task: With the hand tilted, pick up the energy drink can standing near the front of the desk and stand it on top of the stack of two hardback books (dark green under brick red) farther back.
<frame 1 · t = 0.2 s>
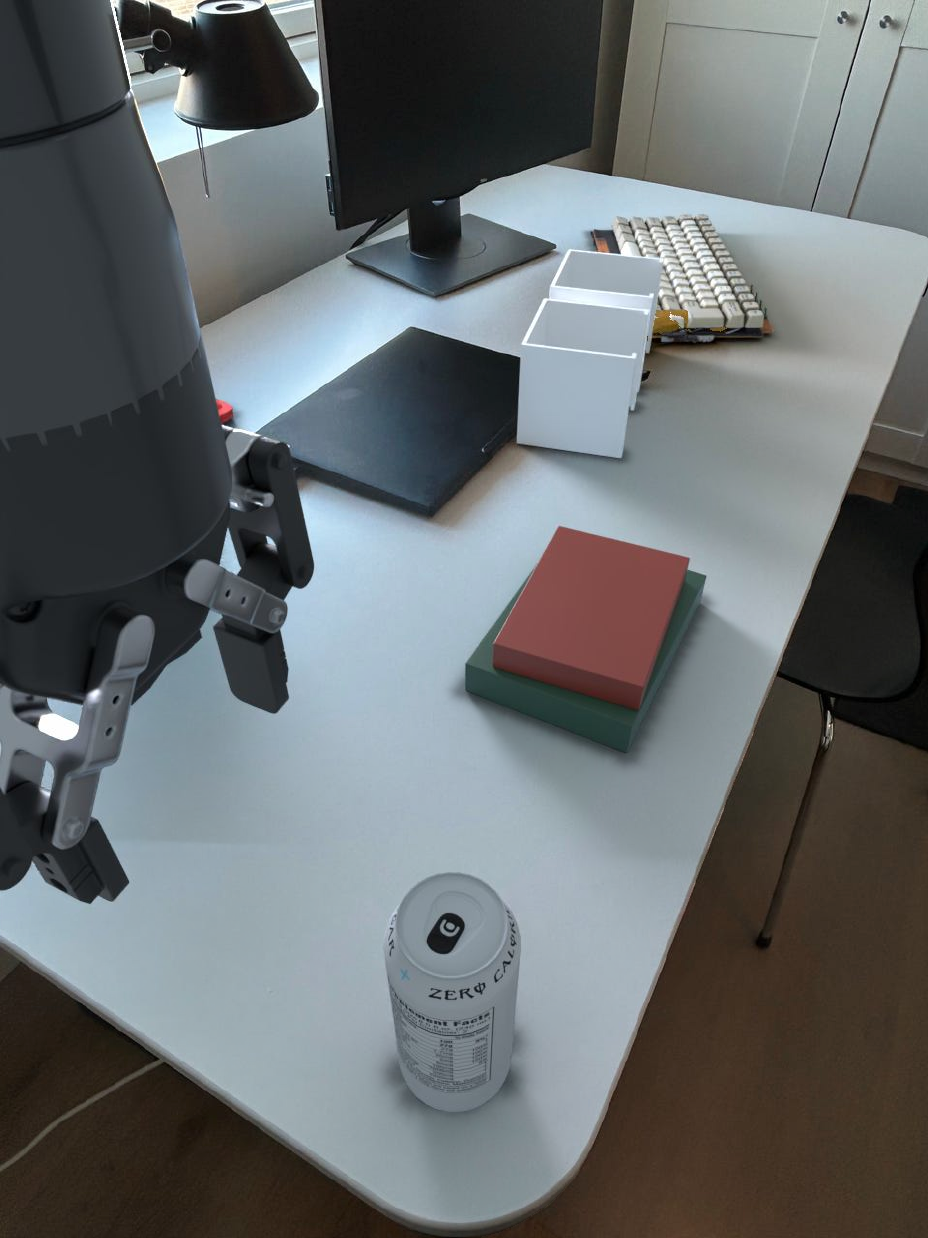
hand: (188, 783, 30), 25 cm above the table, tool pointing down, fingers open, 8 cm apart
mechanical keyboard: (672, 283, 122), on the table
energy drink can: (455, 1059, 48), on the table
book stack: (588, 644, 70), on the table
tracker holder: (181, 424, 95), on the table
storage container: (588, 394, 100), on the table
cup: (175, 536, 81), on the table
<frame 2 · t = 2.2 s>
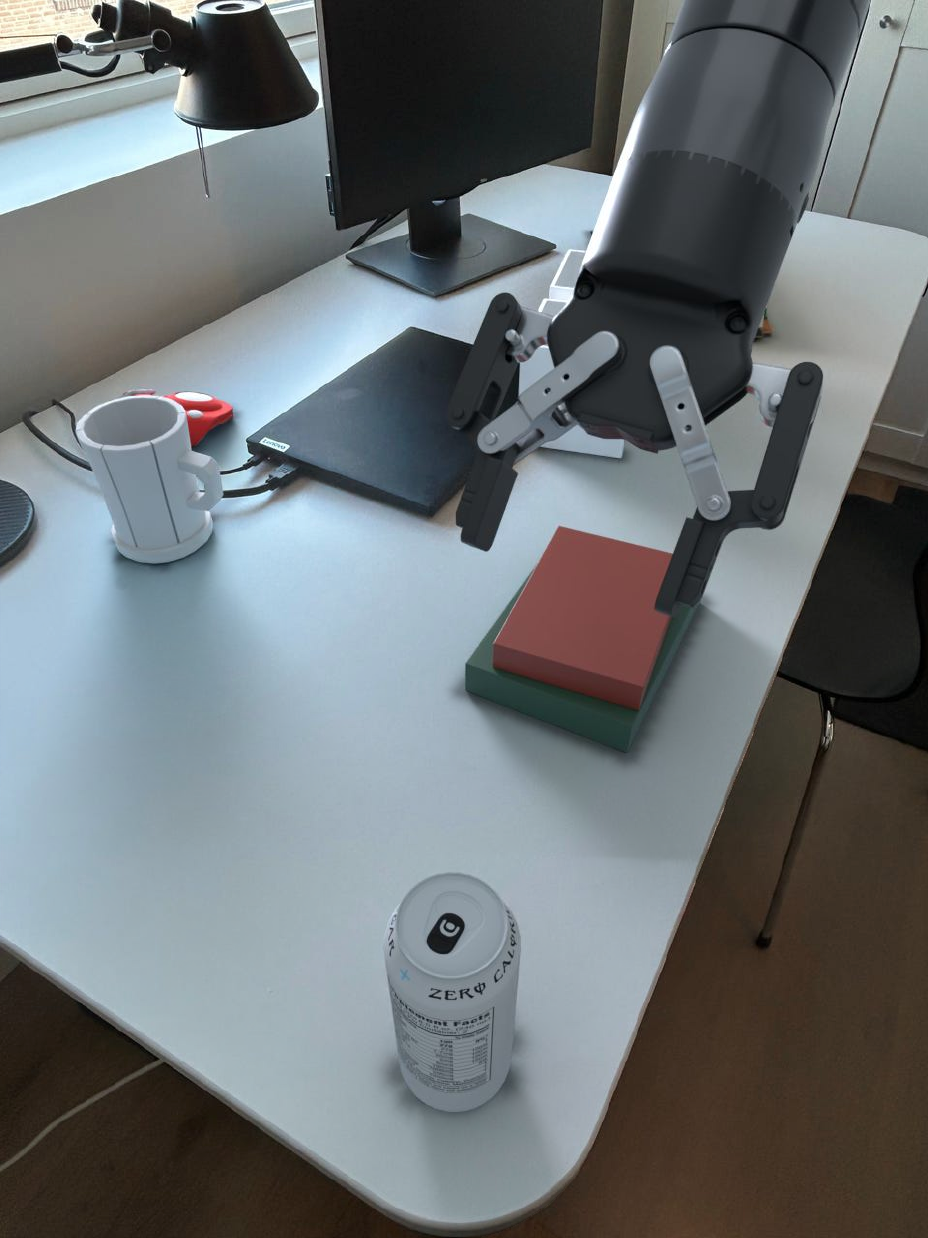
hand: (566, 579, 36), 26 cm above the table, tool tilted 45°, fingers open, 8 cm apart
nothing on the table moved.
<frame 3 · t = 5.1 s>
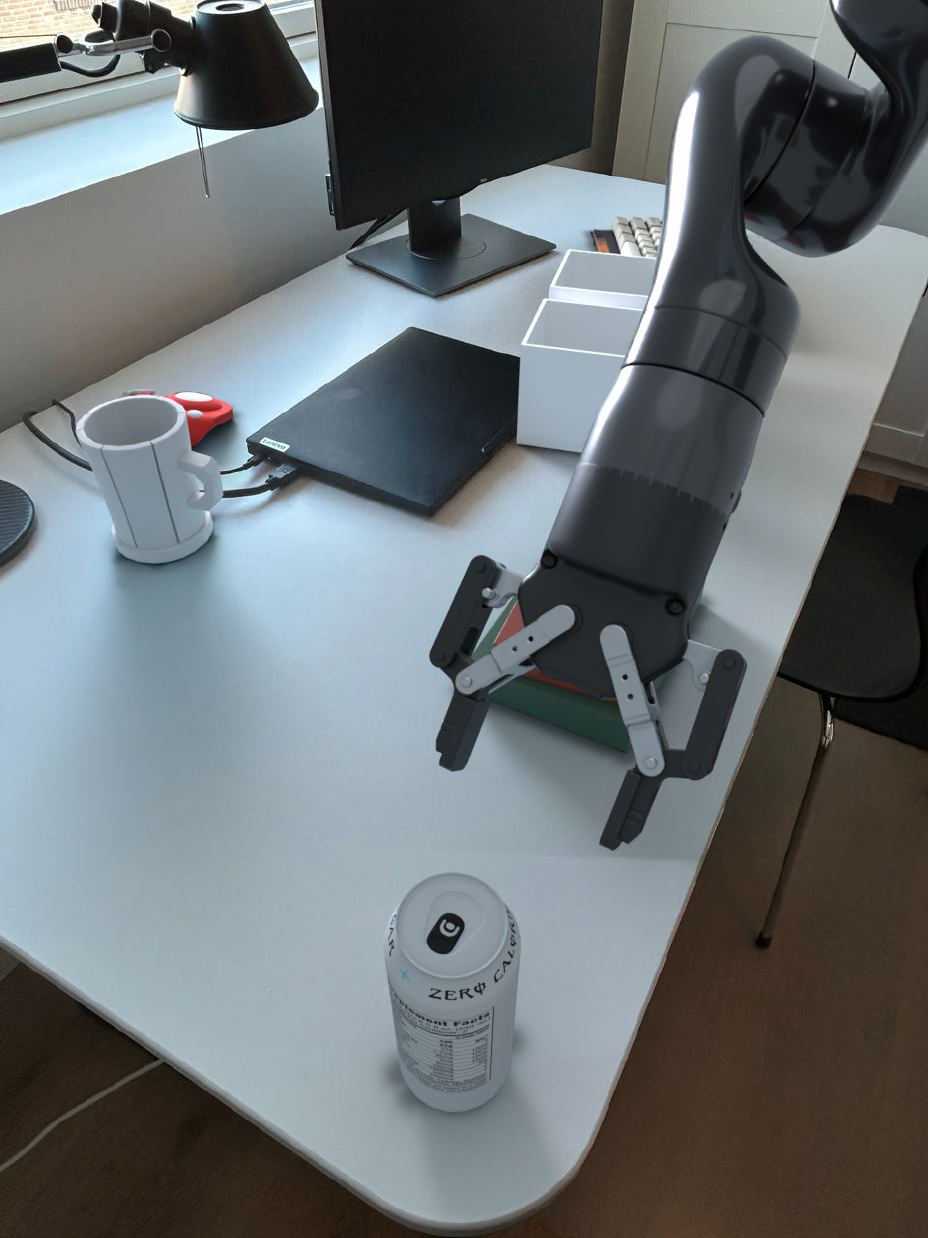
hand: (527, 805, 42), 15 cm above the table, tool tilted 45°, fingers open, 8 cm apart
nothing on the table moved.
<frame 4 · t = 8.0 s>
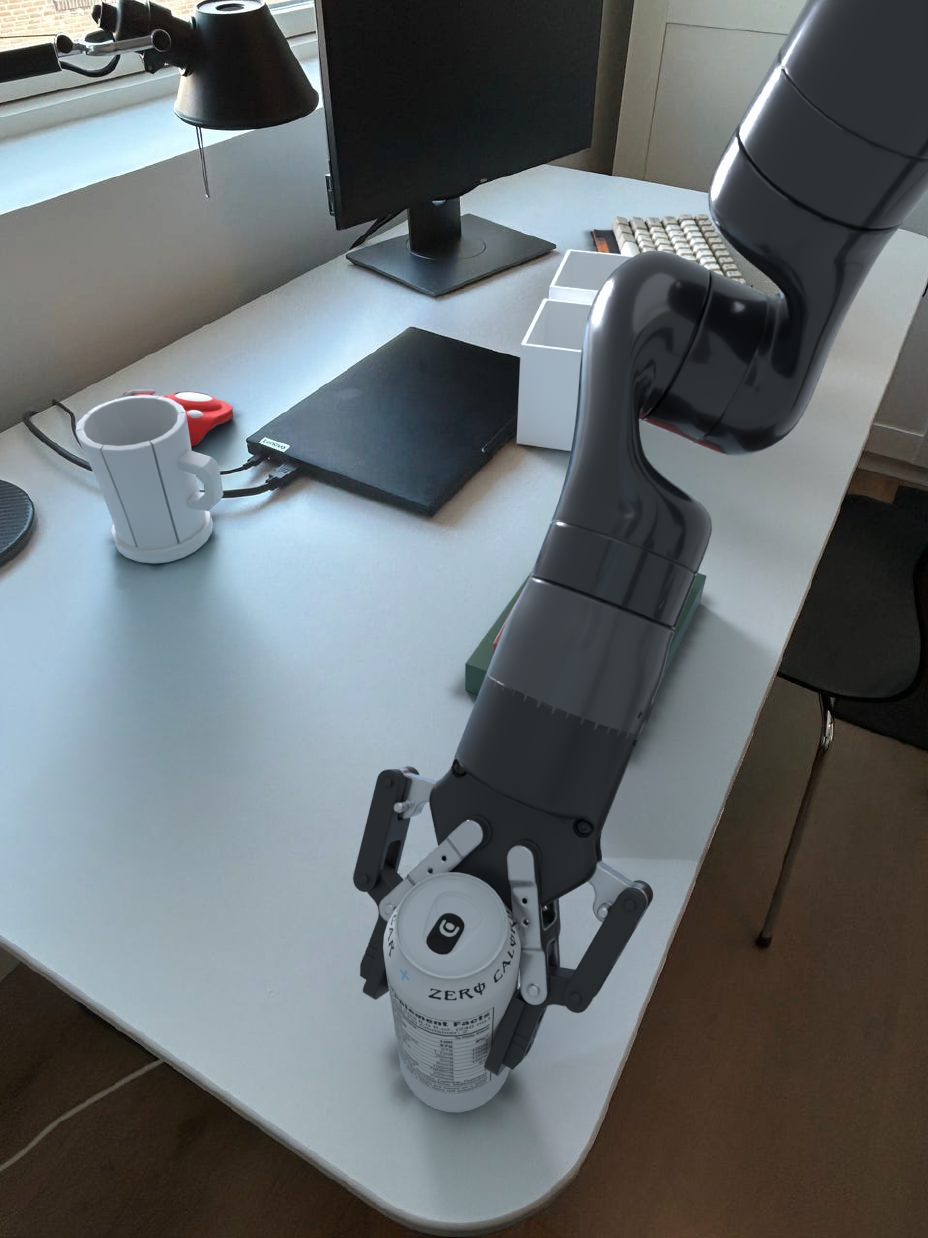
hand: (435, 1027, 41), 8 cm above the table, tool tilted 45°, fingers closed on energy drink can, 6 cm apart
energy drink can: (455, 1059, 48), on the table, touching gripper
everything else where it was.
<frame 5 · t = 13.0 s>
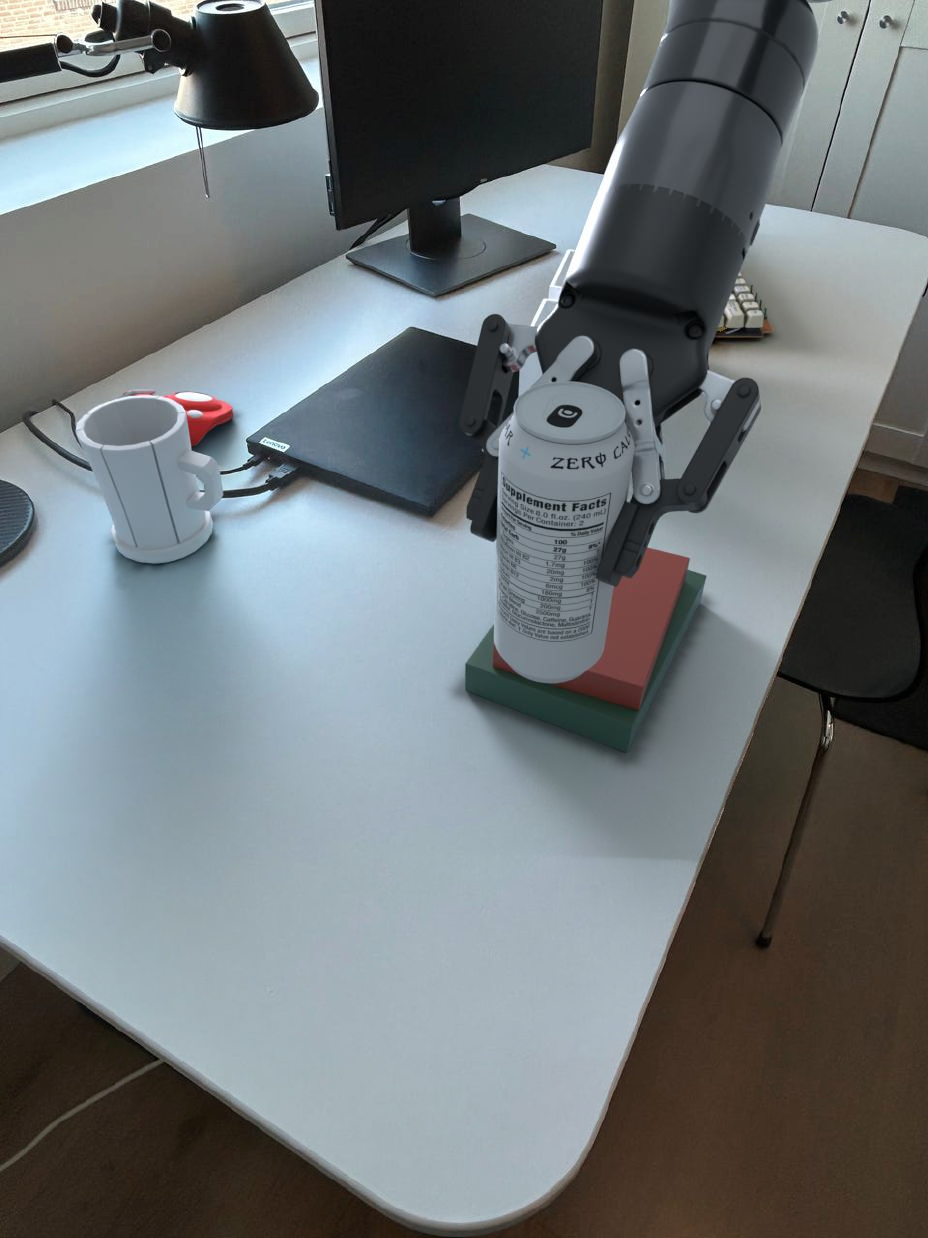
hand: (543, 558, 42), 23 cm above the table, tool tilted 45°, fingers closed on energy drink can, 6 cm apart
energy drink can: (547, 652, 48), point 15 cm above the table, touching gripper
everything else where it was.
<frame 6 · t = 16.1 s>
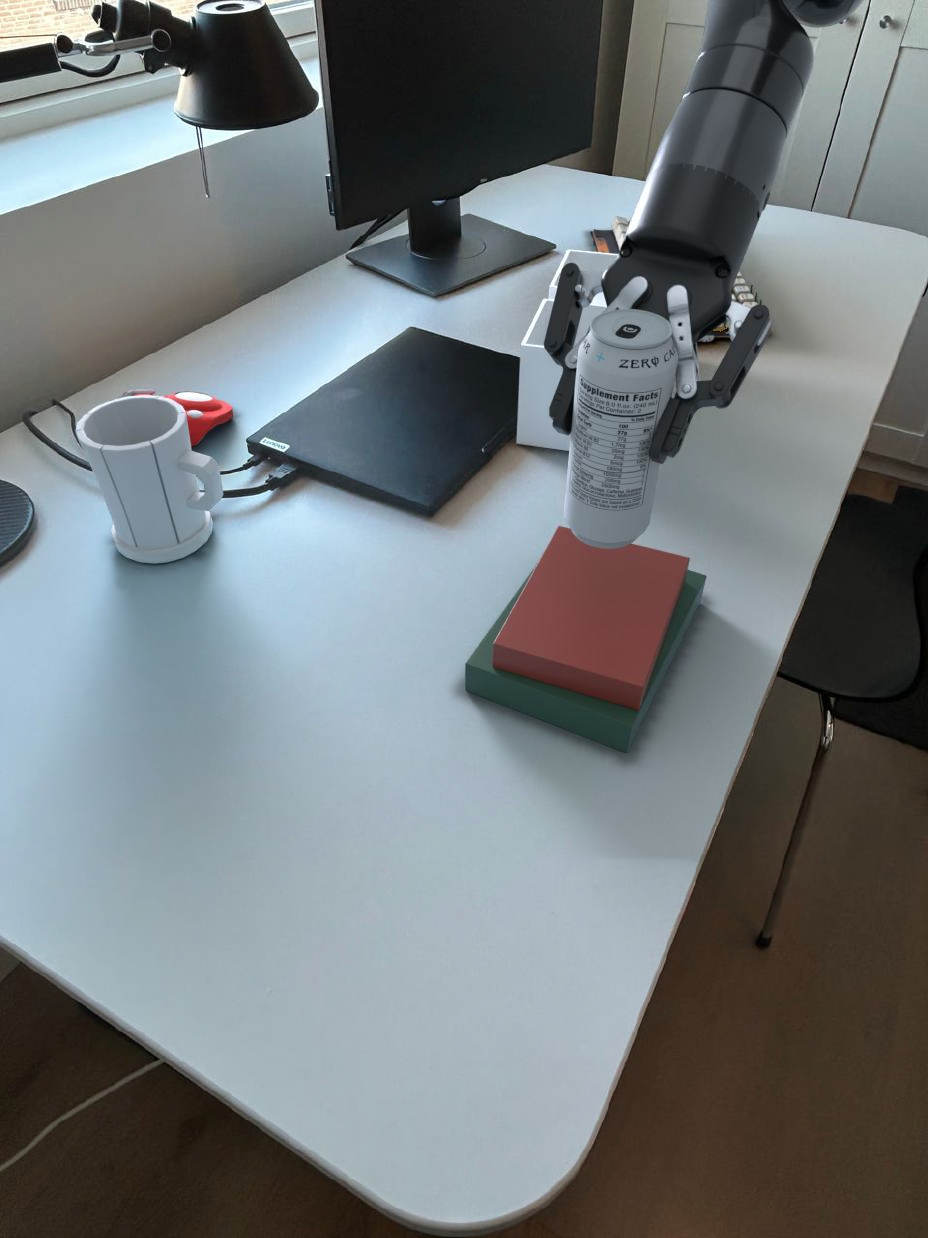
hand: (607, 444, 56), 19 cm above the table, tool tilted 45°, fingers closed on energy drink can, 6 cm apart
energy drink can: (604, 529, 63), point 11 cm above the table, touching gripper
everything else where it was.
when the fingers open (13 cm above the table, at t = 18.4 s): energy drink can stays where it is, resting on book stack.
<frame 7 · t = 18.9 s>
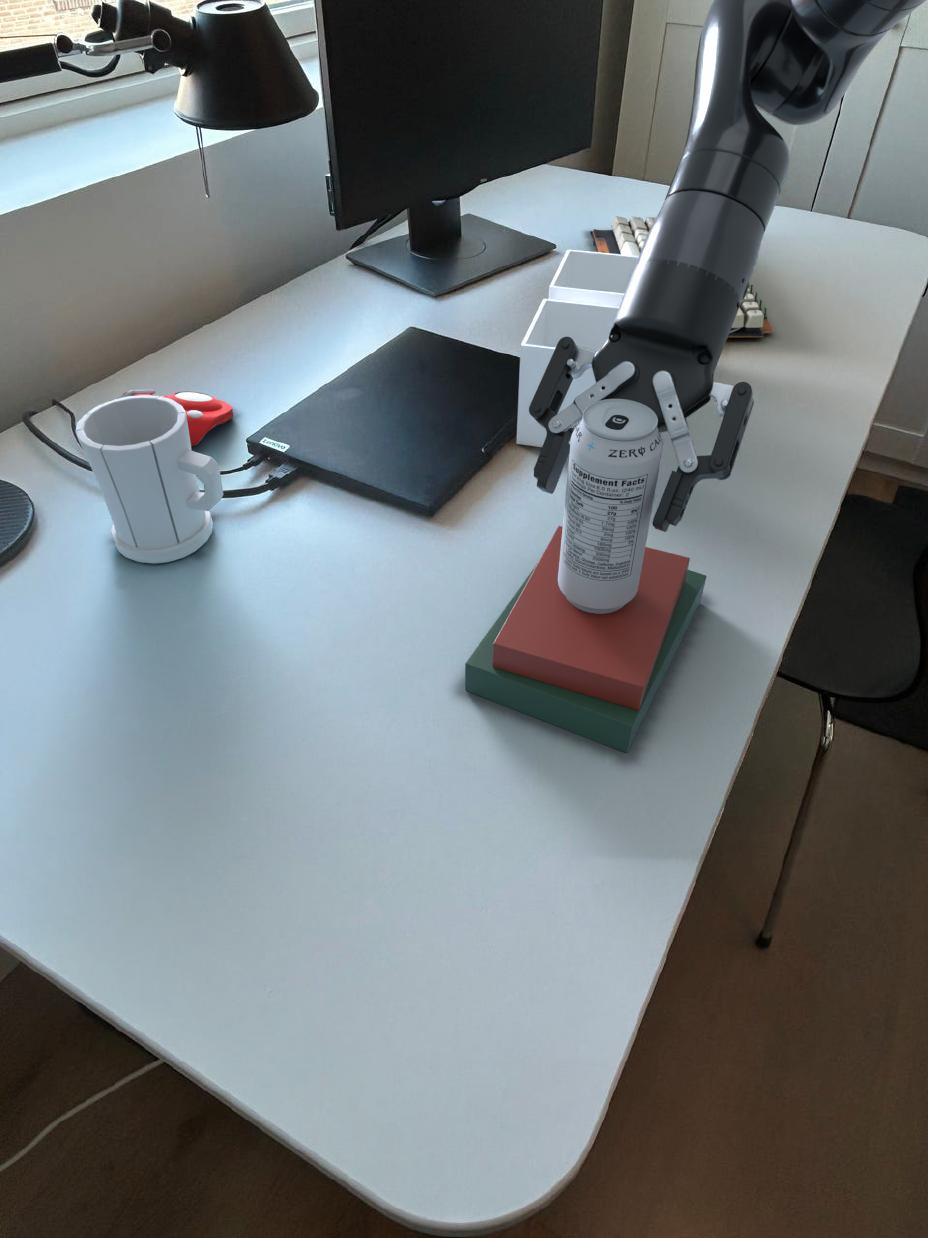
hand: (600, 509, 60), 14 cm above the table, tool tilted 45°, fingers open, 8 cm apart
energy drink can: (596, 593, 67), point 5 cm above the table, touching book stack
everything else where it was.
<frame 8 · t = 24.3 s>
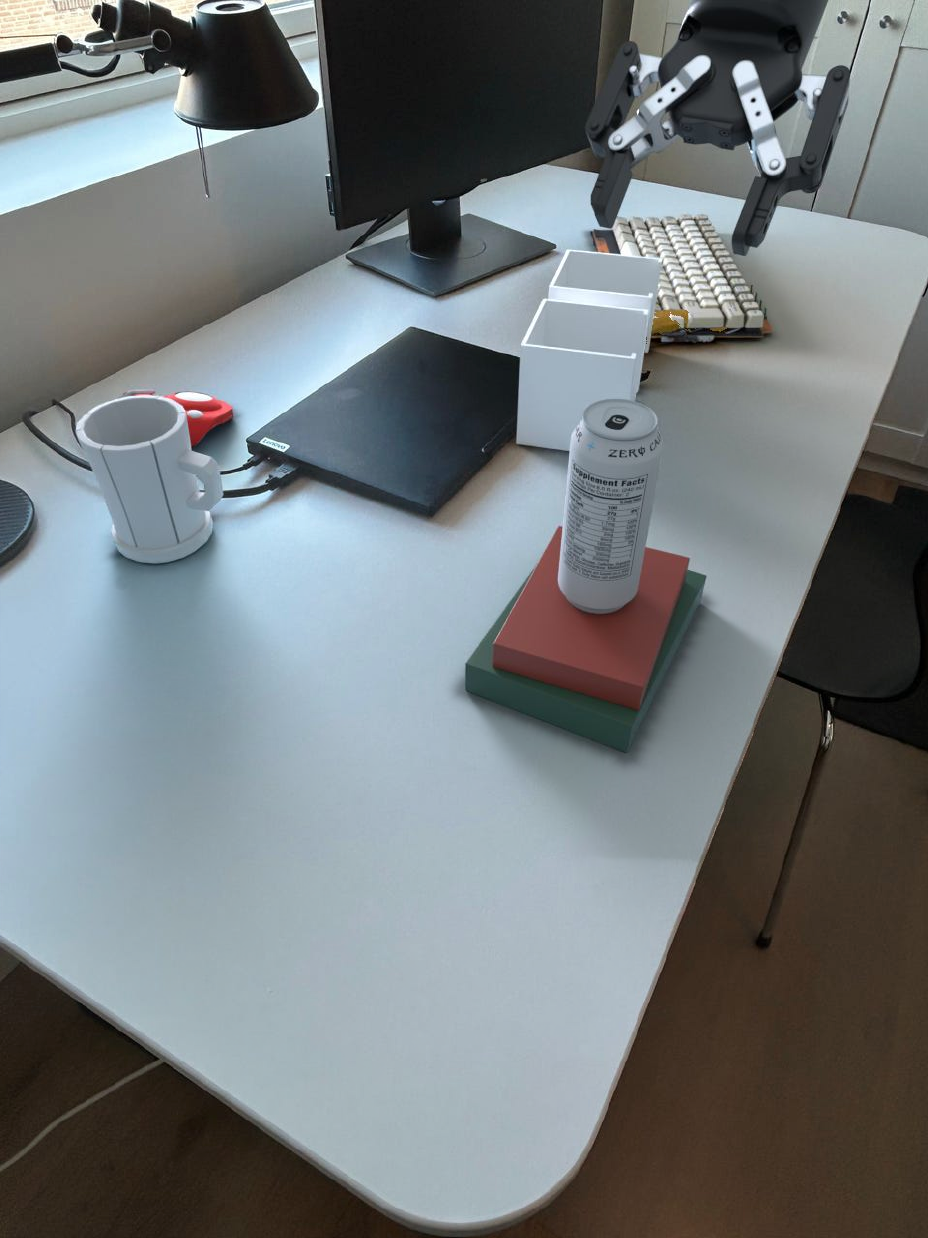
hand: (668, 234, 52), 31 cm above the table, tool tilted 45°, fingers open, 8 cm apart
nothing on the table moved.
at the end: energy drink can inside the target area on the book stack (0.1 cm from its centre), point 5.3 cm above the book stack's base; energy drink can tilted 0°; the gripper is holding nothing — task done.
